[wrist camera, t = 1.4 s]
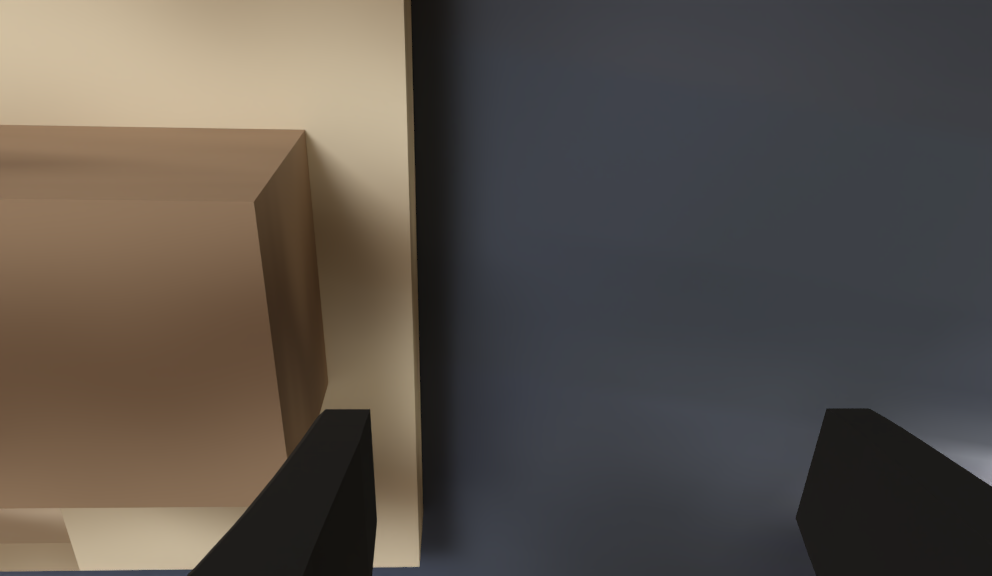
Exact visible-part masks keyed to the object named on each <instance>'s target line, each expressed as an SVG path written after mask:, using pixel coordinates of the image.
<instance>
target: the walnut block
mask: <svg viewBox="0 0 992 576" xmlns="http://www.w3.org/2000/svg"><path fill="white" fill-rule="evenodd" d="M327 386H328V374H327V363H326V352H325V341H324V330H323V319H322V309H321V298H320V287H319V276H318V265H317V254H316V243H315V232H314V221H313V211H312V200H311V189H310V178H309V167H308V156H307V145H306V134H305V130H291V129H229V128H167V127H105V126H43V125H0V509H14V508H152V507H249V506H250V505H251V503H252V502H253V501H254V500H255V499H256V497H257V496H258V495H259V494H260V492H261V491H262V490H263V489H264V488H265V486H266V485H267V484H268V483H269V482H270V480H271V479H272V478H273V477H274V475H275V474H276V473H277V471H278V470H279V469H280V467H281V466H282V465H283V464H284V462H285V461H286V460H287V458H288V457H289V456H290V454H291V453H292V452H293V450H294V449H295V448H296V446H297V445H298V444H299V442H300V441H301V439H302V438H303V437H304V435H305V434H306V432H307V431H308V430H309V428H310V427H311V425H312V424H313V422H314V421H315V419H316V418H317V417H318V416H319V414H320V411H321V407H322V404H323V400H324V397H325V393H326V390H327Z"/></svg>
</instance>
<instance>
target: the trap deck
mask: <svg viewBox="0 0 992 576" xmlns="http://www.w3.org/2000/svg"><path fill="white" fill-rule="evenodd" d="M0 125H43V126H105V127H167V128H229V129H291V130H305V134H306V145H307V156H308V167H309V178H310V189H311V200H312V211H313V221H314V232H315V243H316V254H317V265H318V276H319V287H320V298H321V309H322V319H323V330H324V341H325V352H326V363H327V374H328V386H327V390H326V393H325V397H324V400H323V404H322V407H321V411H320V414H321V413H322V412H323V411H324V410H325V409H370V414H371V430H372V446H373V462H374V478H375V494H376V510H377V528H376V539H375V550H374V561H373V567H420V552H421V537H422V522H423V488H422V446H421V404H420V362H419V320H418V278H417V237H416V195H415V153H414V111H413V69H412V27H411V0H0ZM320 414H319V415H320ZM247 508H248V507H152V508H14V509H0V571H80V570H171V569H194V568H195V567H196V565H197V564H198V563H199V562H200V561H201V560H202V559H203V558H204V557H205V556H206V555H207V553H208V552H209V551H210V550H211V549H212V548H213V547H214V546H215V545H216V544H217V542H218V541H219V540H220V539H221V538H222V537H223V536H224V535H225V534H226V533H227V532H228V530H229V529H230V528H231V527H232V526H233V525H234V524H235V523H236V521H237V520H238V519H239V518H240V517H241V516H242V514H243V513H244V512H245V511H246V510H247Z"/></svg>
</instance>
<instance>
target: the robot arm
mask: <svg viewBox="0 0 992 576" xmlns="http://www.w3.org/2000/svg"><path fill="white" fill-rule="evenodd" d="M796 520H797V523H798V526H799V529H800V532H801V534H802V537H803V540H804V543H805V546H806V549H807V552H808V555H809V557H810V560H811V562H812V565H813V568H814V570H815V573H816V575H817V576H992V486H990V485H988V484H987V483H985V482H984V481H982V480H981V479H979V478H978V477H976V476H975V475H973V474H972V473H970V472H969V471H967V470H966V469H964V468H963V467H961V466H960V465H958V464H956V463H955V462H953V461H952V460H950V459H949V458H947V457H946V456H944V455H943V454H941V453H940V452H938V451H937V450H935V449H934V448H932V447H931V446H929V445H928V444H926V443H925V442H923V441H922V440H920V439H918V438H917V437H915V436H914V435H912V434H911V433H909V432H908V431H906V430H904V429H903V428H901V427H900V426H898V425H896V424H895V423H893V422H892V421H890V420H888V419H887V418H885V417H883V416H881V415H880V414H878V413H876V412H874V411H873V410H871V409H826V413H825V416H824V420H823V423H822V427H821V430H820V434H819V437H818V441H817V444H816V448H815V451H814V455H813V459H812V462H811V466H810V469H809V473H808V476H807V480H806V483H805V487H804V490H803V494H802V497H801V501H800V505H799V508H798V512H797V515H796ZM376 528H377V510H376V494H375V478H374V462H373V446H372V430H371V414H370V409H325V410H324V411H323V412H322V413H321V414H320V415H319V416H318V417H317V418H316V419H315V421H314V422H313V424H312V425H311V427H310V428H309V430H308V431H307V432H306V434H305V435H304V437H303V438H302V439H301V441H300V442H299V444H298V445H297V446H296V448H295V449H294V450H293V452H292V453H291V454H290V456H289V457H288V458H287V460H286V461H285V462H284V464H283V465H282V466H281V467H280V469H279V470H278V471H277V473H276V474H275V475H274V477H273V478H272V479H271V480H270V482H269V483H268V484H267V485H266V486H265V488H264V489H263V490H262V491H261V492H260V494H259V495H258V496H257V497H256V499H255V500H254V501H253V502H252V503H251V505H250V506H249V507H248V508H247V510H246V511H245V512H244V513H243V514H242V516H241V517H240V518H239V519H238V520H237V521H236V523H235V524H234V525H233V526H232V527H231V528H230V529H229V530H228V532H227V533H226V534H225V535H224V536H223V537H222V538H221V539H220V540H219V541H218V542H217V544H216V545H215V546H214V547H213V548H212V549H211V550H210V551H209V552H208V553H207V555H206V556H205V557H204V558H203V559H202V560H201V561H200V562H199V563H198V564H197V565H196V567H195V568H194V569H193V570H192V571H191V572H190V573H189V574H188V575H187V576H372V570H373V561H374V550H375V539H376Z"/></svg>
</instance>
